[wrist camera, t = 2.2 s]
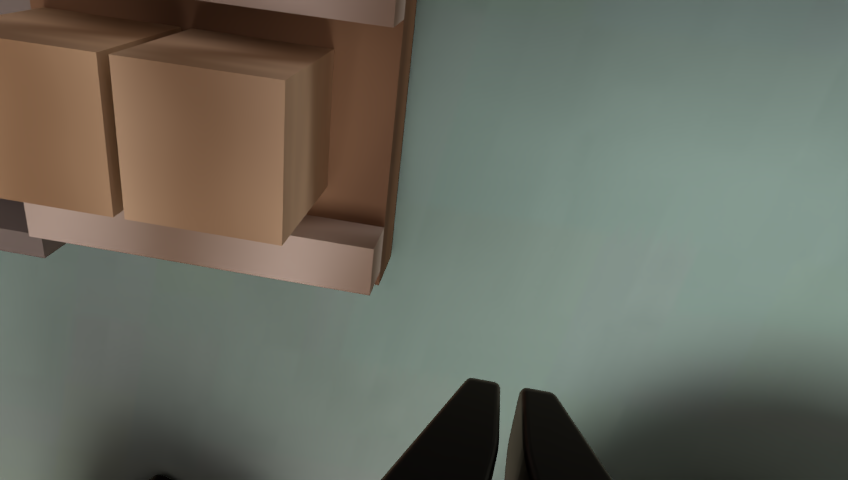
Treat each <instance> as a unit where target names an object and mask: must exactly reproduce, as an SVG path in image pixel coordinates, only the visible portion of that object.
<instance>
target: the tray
mask: <svg viewBox="0 0 848 480" xmlns="http://www.w3.org/2000/svg"><path fill="white" fill-rule="evenodd" d="M25 10H31V6H30V0H0V15H2V14H8V13H14V12H19V11H25ZM64 244H66V243H65V242H59V241H53V240H48V239H42V238H36V237H30V236H29V232H28V226H27V220H26V214H25V208H24V202H19V201H13V200H7V199H1V198H0V250H2V251H7V252H13V253H19V254H25V255H30V256H36V257H42V258H46V257H47V256H49V255H50V254H51V253H53V252H54V251H56V250H57V249H59V248H60V247H62V246H63V245H64Z"/></svg>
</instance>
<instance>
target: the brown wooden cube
mask: <svg viewBox="0 0 848 480" xmlns="http://www.w3.org/2000/svg"><path fill="white" fill-rule="evenodd" d="M109 62H110V73H111V83H112V93H113V104H114V114H115V125H116V135H117V145H118V156H119V166H120V177H121V187H122V198H123V208H124V218H125V219H126V220H132V221H138V222H144V223H150V224H156V225H161V226H167V227H173V228H179V229H185V230H191V231H197V232H203V233H209V234H215V235H221V236H226V237H232V238H238V239H244V240H250V241H256V242H262V243H268V244H274V245H280V246H282V245H283V244H284V243H285V241H286V240H287V239H288V237H289V236H290V235H291V234H292V232H293V231H294V230H295V228H296V227H297V226H298V224H299V223H300V222H301V221H302V219H303V218H304V217H305V215H306V214H307V213H308V211H309V210H310V209H311V207H312V206H313V205H314V204H315V202H316V201H317V200H318V198H319V197H320V196H321V194H322V193H323V192H324V191H325V189H326V188H327V182H328V162H329V143H330V123H331V104H332V84H333V65H334V49H331V48H324V47H317V46H310V45H303V44H296V43H290V42H283V41H276V40H269V39H262V38H255V37H248V36H241V35H234V34H227V33H220V32H213V31H206V30H199V29H192V28H191V29H188V30H185V31H182V32H179V33H175V34H172V35H169V36H166V37H162V38H159V39H156V40H153V41H150V42H146V43H143V44H140V45H137V46H134V47H130V48H127V49H124V50H121V51H118V52H114V53H111V54H109Z"/></svg>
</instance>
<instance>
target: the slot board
mask: <svg viewBox="0 0 848 480" xmlns="http://www.w3.org/2000/svg"><path fill="white" fill-rule="evenodd" d="M416 4H417V0H30V6H31V9H37V8H42V7H46V8H53V9H60V10H67V11H74V12H81V13H88V14H94V15H101V16H108V17H115V18H122V19H129V20H136V21H143V22H150V23H157V24H164V25H171V26H178V27H181V30H182V31H185V30H188V29H191V28H192V29H199V30H206V31H213V32H220V33H227V34H234V35H241V36H248V37H255V38H262V39H269V40H276V41H283V42H290V43H296V44H303V45H310V46H317V47H324V48H331V49H334V65H333V84H332V104H331V123H330V143H329V162H328V182H327V188H326V189H325V191H324V192H323V193H322V194H321V196H320V197H319V198H318V200H317V201H316V202H315V204H314V205H313V206H312V207H311V209H310V210H309V211H308V213H307V214H306V215H305V217H304V218H303V219H302V221H301V222H300V223H299V224H298V226H297V227H296V228H295V230H294V231H293V232H292V234H291V235H290V236H289V237H288V239H287V240H286V241H285V243H284V244H283V245H282V246H280V245H274V244H268V243H262V242H256V241H250V240H244V239H238V238H232V237H226V236H221V235H215V234H209V233H203V232H197V231H191V230H185V229H179V228H173V227H167V226H161V225H156V224H150V223H144V222H138V221H132V220H126V219H125V218H124V210H123V211H122V212H120V213H119V214H117V215H116V216H115V217H108V216H102V215H96V214H90V213H84V212H78V211H72V210H66V209H60V208H54V207H49V206H43V205H37V204H31V203H25V202H24V208H25V214H26V220H27V226H28V232H29V236H30V237H36V238H42V239H48V240H53V241H59V242H65V243H71V244H76V245H82V246H88V247H94V248H100V249H105V250H111V251H117V252H123V253H128V254H134V255H140V256H146V257H151V258H157V259H163V260H169V261H174V262H180V263H186V264H192V265H198V266H203V267H209V268H215V269H221V270H226V271H232V272H238V273H244V274H249V275H255V276H261V277H267V278H272V279H278V280H284V281H290V282H296V283H301V284H307V285H313V286H319V287H324V288H330V289H336V290H342V291H347V292H353V293H359V294H365V295H370V293H371V291H372V289H373V286H374V284H376V285H379V283H380V281H381V279H382V276H383V274H384V271H385V269H386V267H387V264H388V262H389V259H390V257H391V249H392V239H393V230H394V220H395V210H396V200H397V190H398V181H399V171H400V161H401V151H402V141H403V132H404V122H405V112H406V102H407V92H408V83H409V73H410V63H411V53H412V43H413V34H414V24H415V14H416Z"/></svg>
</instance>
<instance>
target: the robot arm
mask: <svg viewBox="0 0 848 480" xmlns="http://www.w3.org/2000/svg"><path fill="white" fill-rule="evenodd" d="M499 417H500V387H499V385H498V384H497V383H496V382H491V381H486V380H480V379H475V378H469V379H467V380H466V381H465V382H464V383H463V384H462V386H461V387H460V388H459V389H458V390H457V391H456V393H455V394H454V395H453V396H452V397H451V398H450V400H449V401H448V402H447V403H446V404H445V405H444V407H443V408H442V409H441V410H440V411H439V412H438V414H437V415H436V416H435V417H434V418H433V420H432V421H431V422H430V423H429V424H428V425H427V427H426V428H425V429H424V430H423V431H422V432H421V434H420V435H419V436H418V437H417V438H416V439H415V441H414V442H413V443H412V444H411V445H410V446H409V448H408V449H407V450H406V451H405V452H404V453H403V455H402V456H401V457H400V458H399V459H398V460H397V462H396V463H395V464H394V465H393V466H392V467H391V469H390V470H389V471H388V472H387V473H386V475H385V476H384V477H383V478H382V479H381V480H492V476H493V471H494V467H495V462H496V457H497V453H498V445H499ZM150 480H171V479H169V478H168V477H166V476H163V475H156V476H154V477H153V478H151V479H150ZM505 480H612V478H611V477H610V475H609V474H608V472H607V471H606V470H605V468H604V467H603V465H602V464H601V462H600V461H599V459H598V458H597V456H596V455H595V453H594V452H593V450H592V449H591V447H590V446H589V444H588V443H587V441H586V440H585V438H584V437H583V435H582V434H581V432H580V431H579V430H578V428H577V427H576V425H575V424H574V422H573V421H572V419H571V418H570V416H569V415H568V413H567V412H566V410H565V409H564V407H563V406H562V404H561V403H560V401H559V400H558V398H557V397H556V396H555V395H554V394H553V393H551V392H546V391H541V390H535V389H530V388H524V389H522V390H521V392H520V394H519V397H518V401H517V406H516V410H515V415H514V419H513V424H512V428H511V433H510V437H509V443H508V449H507V458H506V469H505Z"/></svg>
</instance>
